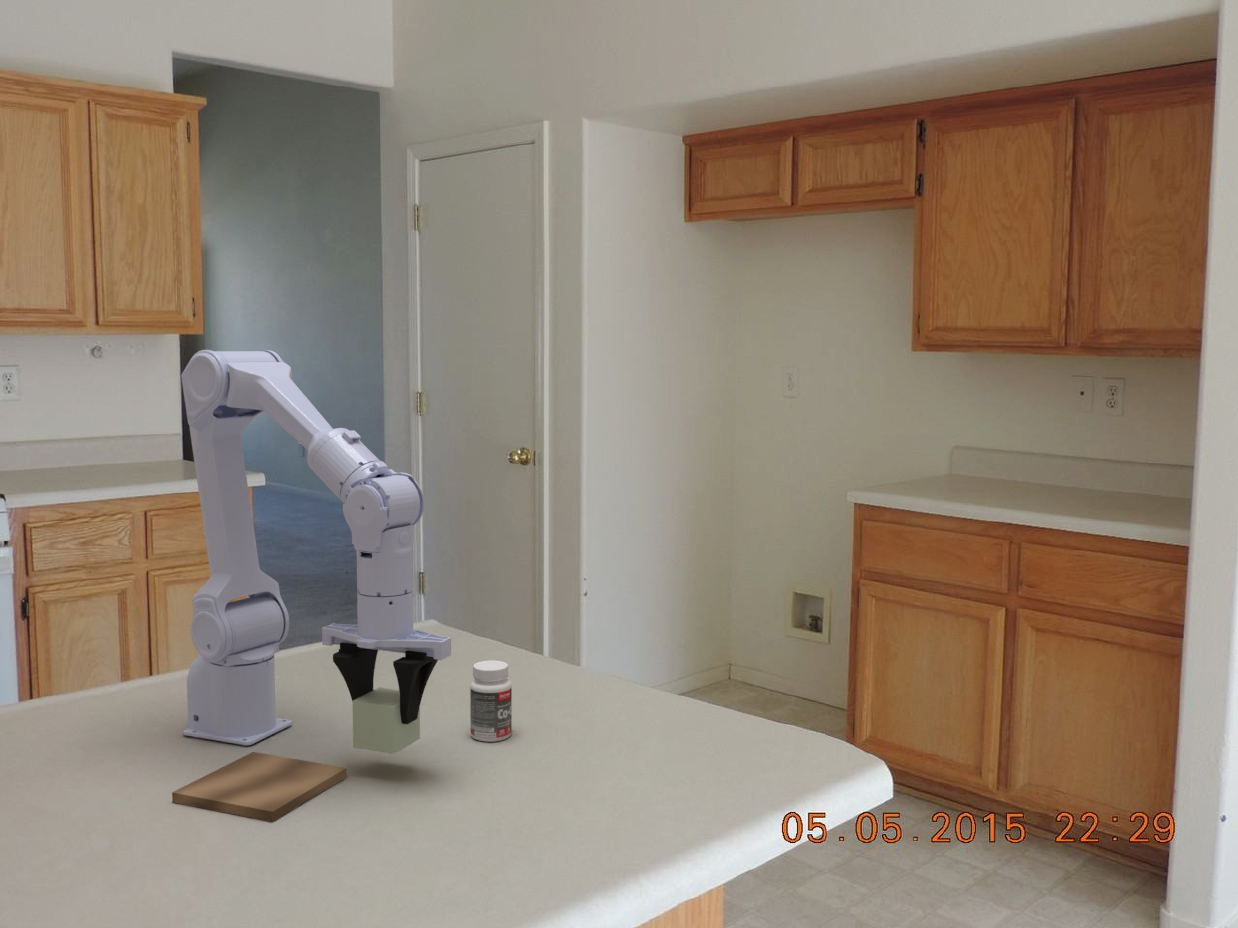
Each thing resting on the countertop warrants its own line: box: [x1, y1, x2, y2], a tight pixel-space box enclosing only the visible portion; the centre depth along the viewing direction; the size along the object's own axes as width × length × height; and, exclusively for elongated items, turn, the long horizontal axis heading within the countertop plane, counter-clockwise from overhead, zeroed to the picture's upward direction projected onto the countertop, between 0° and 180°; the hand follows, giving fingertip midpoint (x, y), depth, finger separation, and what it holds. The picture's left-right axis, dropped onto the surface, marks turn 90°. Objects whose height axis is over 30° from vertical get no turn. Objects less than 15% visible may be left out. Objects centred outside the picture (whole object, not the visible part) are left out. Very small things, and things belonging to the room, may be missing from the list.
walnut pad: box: [171, 751, 348, 823], centre depth 115 cm, size 12×12×1 cm
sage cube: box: [352, 687, 421, 755], centre depth 119 cm, size 5×5×5 cm
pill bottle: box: [469, 660, 513, 743], centre depth 131 cm, size 5×5×8 cm
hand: (386, 717), depth 119 cm, fingers closed on sage cube, 5 cm apart
